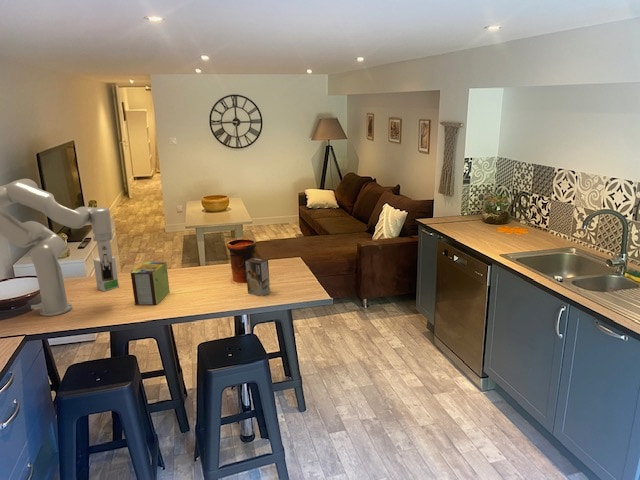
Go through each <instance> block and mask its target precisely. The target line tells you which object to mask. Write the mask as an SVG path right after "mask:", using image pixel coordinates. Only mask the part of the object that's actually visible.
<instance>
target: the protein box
mask: <svg viewBox="0 0 640 480" xmlns="http://www.w3.org/2000/svg"><path fill="white" fill-rule="evenodd" d="M130 279H131V285H132V286H131V287H132V291H133V298H134V305H138V306H139V305H140V306H141V305H142V306H143V305H144V306H146V305H147V306H157V305H158V304H159V303H160V302H161V301H162V300H164V298H166V297H167V296H168V295H169V294H170V293H171V291H170V282H169V274H168V265H167V262H166V261H145V262H143V263H142V264H141V265H139V266H138V267H137V268H135V269H134V270H132V271H131V272H130Z"/></svg>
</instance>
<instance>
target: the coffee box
mask: <svg viewBox="0 0 640 480" xmlns="http://www.w3.org/2000/svg"><path fill="white" fill-rule="evenodd" d="M245 262H246V275H247V284H246V285H247V286H246V287H247V293H248V294H251V295H256V296H261V297H264V296H265V295H268V294H269V293H271V288H270V284H271V283H270V273H269V270H270V269H269V259H265V258H257V257H254V258H251V259H249V260H247V261H245Z"/></svg>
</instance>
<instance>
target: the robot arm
mask: <svg viewBox="0 0 640 480" xmlns="http://www.w3.org/2000/svg"><path fill="white" fill-rule="evenodd" d="M16 203H19V204H20V205H24V206H27V207H29V208H32V209H33V210H36V211H39V212H41V213H43V214H44V215H45V216H46V217H48V218H49V219H50V220H51V221H53V222H55V223H57V224H60V225H61V226H65V227H68V228H71V229H74V230H75V229H81V228H83V227H84V226H87V225H89V224H91V231H92V240H93V242H96V247H97V252H98V258H100V262H101V264H103V277H104V279H108V278H112V276H111V269H110V263H109V262H111V263H112V262H113V258H112V257H113V251H112V250H113V249H112V243H111V241H112V240H113V231H112V220H111V214H110V212H111V211H110V209H109V208H108V207H106V206H98V207H92V206H79V207H77V208H75V209H71V208H69V207H66V206H64V205H61V204H60V203H59V202H57V201H56V199H55V196H54V194H53V193H51V192H49V191H46V190H43V189H41V188H39V186H38V184H37V182H35V181H34V180H33V179H29V178H21V179H17V180H13V181H12V182H10V183H7V184H4V185H0V209H2V208H5V207H7V206H10V205H13V204H16ZM0 236H2V237H4V238H5V239H6V240H8V241H9V242H11V243H12V244H13V245H15V246H16V247H19V248H28V247H30V246H33V245H34V246H33V247H32V249H31V250H30V258H31V259H30V260H31V261H32V264H33V266H34V268H35V269H34V270H35V273H36V279H37V283H38V287H39V293H40V294H39V295H40V298H41V302H39V303H38V304H31V305H30V309H31V310H33V311H35V312H36V311H39V315H41V316H44V317H54V316H59V315H63V314H65V313H67V312H69V311H71V310H72V309H73V305H72V304H71V303H70V302H68V298H67V293H66V287H65V282H64V277H63V276H64V275H63V271H62V267H61V264H60V263H59V260H58V258H59V257H61V256H63V254H64V253H65V252H66V250H67V244H66V242H65V240H64V239H63V238H62V237H61V236H60V235H58V234H57V233H55V232H54V231H52V230H51V229H49V228H48V227H46V225H44V224H42V223H40V222H38V221H36V220H35V221H34V220H29V221H25V222H21V221H19V220H18V219H16V218H15V217H14V216H13V215H11V214H10V213H7V212H5V211H2V210H0ZM107 261H108V262H107ZM103 262H104V263H103ZM104 264H105V265H104ZM104 268H105V269H104Z"/></svg>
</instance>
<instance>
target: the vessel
mask: <svg viewBox="0 0 640 480" xmlns="http://www.w3.org/2000/svg"><path fill="white" fill-rule="evenodd" d="M256 246H257V243H256V241H255V240H253V239H250V238H237V239H231V240H229V241H227V243H226V248H227V249H228V250H229V254H230V255H229V256H230V257H229V259H230V265H231V266H230V268H231V273H232V274H231V275H232V278H231V279H230V280H231V282H232V283H233V284H236V285H247V275H246V262H245V261H247V260H249V259H251V258H255V257H254V255H255V253H256V251H255V249H256Z"/></svg>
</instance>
